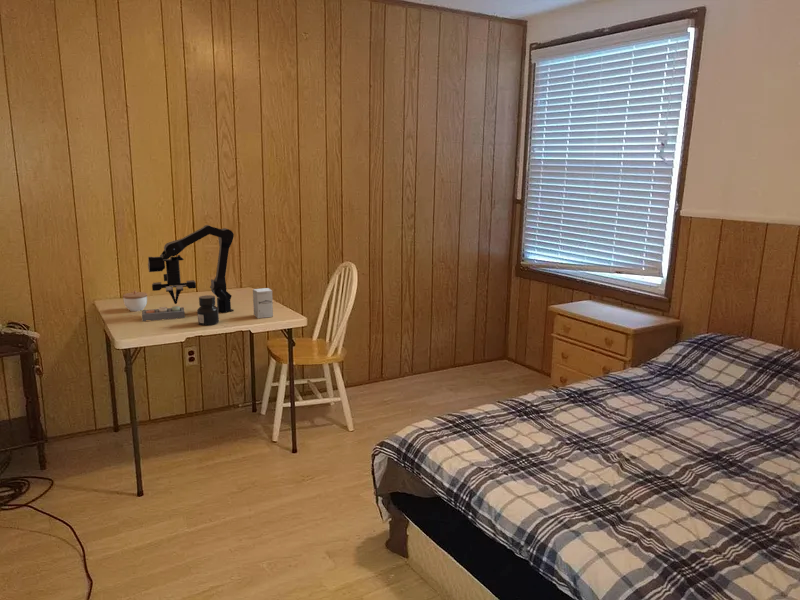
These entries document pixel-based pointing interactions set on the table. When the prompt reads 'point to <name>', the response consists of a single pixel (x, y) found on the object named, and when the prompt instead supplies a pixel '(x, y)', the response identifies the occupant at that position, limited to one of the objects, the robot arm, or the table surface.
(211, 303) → the ink bottle
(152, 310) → the terracotta button
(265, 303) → the supplement box
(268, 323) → the table surface
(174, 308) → the sage button
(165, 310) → the cream button
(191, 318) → the table surface
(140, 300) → the lidded jar
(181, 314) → the button panel
